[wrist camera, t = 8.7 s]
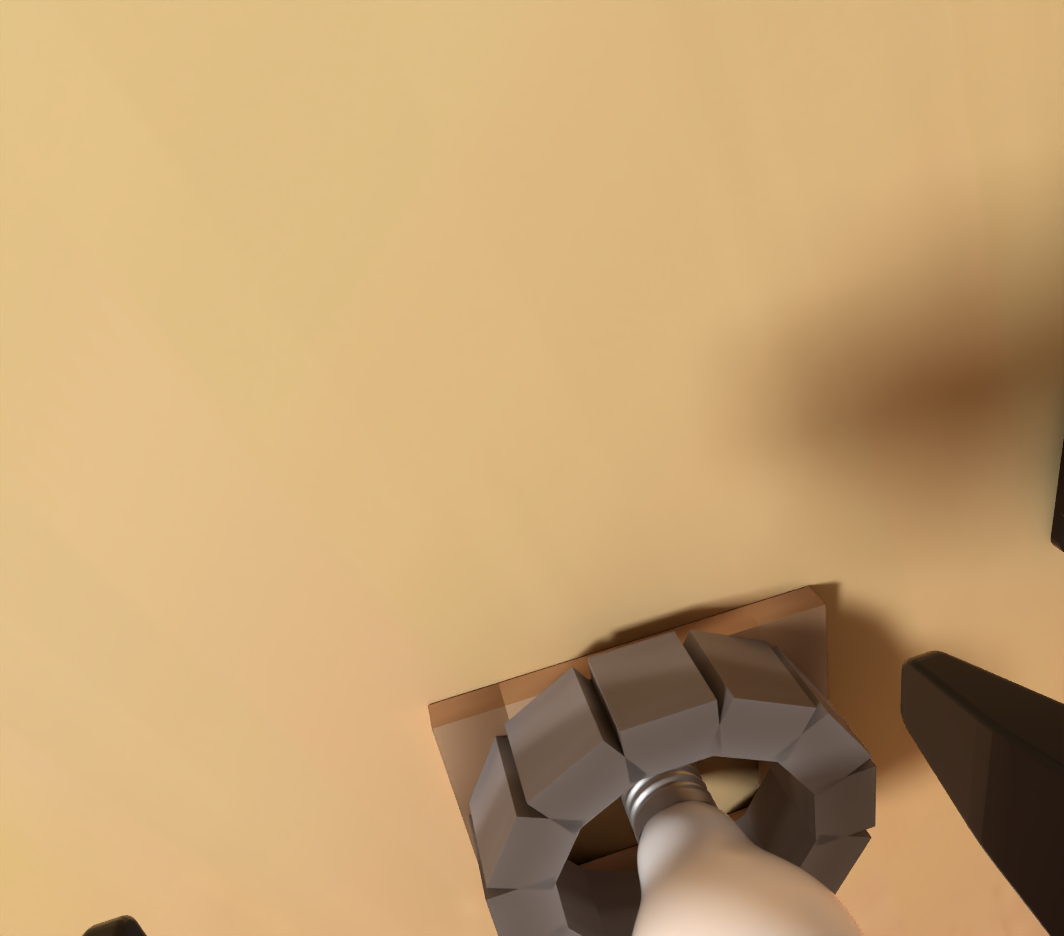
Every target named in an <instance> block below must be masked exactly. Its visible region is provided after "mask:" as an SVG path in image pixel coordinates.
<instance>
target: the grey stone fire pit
mask: <svg viewBox="0 0 1064 936" xmlns="http://www.w3.org/2000/svg"><path fill="white" fill-rule="evenodd" d="M428 709H429V714H430V720H431V726H432V730H433V733H434V736H435V739H436V742H437V745H438V748H439V751H440V754H441V756H442V759H443V762H444V765H445V768H446V771H447V774H448V777H449V780H450V783H451V786H452V788H453V791H454V794H455V797H456V800H457V803H458V806H459V809H460V812H461V815H462V818H463V821H464V823H465V826H466V829H467V832H468V835H469V838H470V841H471V844H472V847H473V850H474V853H475V856H476V858H477V861H478V864H479V869H480V874H481V879H482V884H483V889H484V893H485V898H486V902H487V905H488V908H489V911H490V913H491V916H492V919H493V922H494V925H495V928H496V931H497V934H498V936H632V931H633V928H634V924H635V920H636V917H637V913H638V910H639V906H640V901H641V886H640V880H639V874H638V867H637V851H638V845H637V846H634V847H631V848H628V849H625V850H622V851H619V852H616V853H613V854H610V855H607V856H604V857H602V858H599V859H596V860H593V861H590V862H587V863H584V864H581V865H576V864H574V863H573V862H571V861H570V860H568V859H567V857H568V855H569V853H570V851H571V849H572V847H573V845H574V842H575V840H576V838H577V836H578V834H579V832H580V829H581V828H582V827H583V826H584V825H586V824H587V823H588V822H589V821H590V820H592V819H593V818H594V817H595V816H597V815H598V814H599V813H600V812H602V811H603V810H604V809H605V808H606V807H608V806H609V805H610V804H611V803H613V802H614V801H615V800H616V799H618V798H619V797H620V796H621V795H622V794H624V793H625V792H626V791H627V790H629V789H630V788H631V787H632V786H634V785H635V784H636V783H637V782H638V781H640V780H643V779H646V778H649V777H652V776H655V775H658V774H661V773H664V772H667V771H670V770H673V769H676V768H679V767H682V766H685V765H688V764H691V763H694V762H697V761H700V760H703V759H706V758H709V757H712V756H719V757H730V758H741V759H752V760H758V772H759V784H760V787H759V789H758V790H757V792H756V794H755V796H754V798H753V800H752V801H751V803H750V805H749V807H748V808H745V809H742V810H739V811H736V812H733V813H730V814H727V815H728V816H730V817H731V818H732V819H733V820H734V821H735V822H736V823H737V825H738V826H739V827H740V828H741V829H742V831H743V832H744V833H745V834H746V836H747V837H748V838H749V839H750V840H751V841H752V842H753V843H754V844H756V845H757V846H759V847H760V848H762V849H764V850H766V851H768V852H771V853H773V854H775V855H777V856H779V857H781V858H783V859H785V860H787V861H789V862H791V863H793V864H795V865H796V866H798V867H800V868H802V869H803V870H805V871H806V872H808V873H809V874H811V875H812V876H814V877H815V878H816V879H818V880H819V881H820V882H821V883H823V884H824V885H825V886H826V887H827V888H828V889H829V890H830V891H831V892H832V893H833V894H836V892H837V891H838V889H839V888H840V886H841V884H842V883H843V881H844V880H845V878H846V877H847V875H848V873H849V872H850V870H851V869H852V867H853V866H854V864H855V863H856V861H857V859H858V858H859V856H860V855H861V853H862V852H863V850H864V848H865V847H866V845H867V844H868V842H869V841H870V839H871V836H870V835H869V833H868V832H867V831H866V829H869V828H872V827H874V826H875V808H876V766H875V765H874V763H873V762H872V761H871V759H870V758H871V757H872V756H871V754H870V753H869V752H868V751H867V749H866V748H865V747H864V746H863V744H862V743H861V742H860V740H859V739H858V738H857V737H856V735H855V734H854V733H853V732H852V730H851V729H850V728H849V727H848V725H847V724H846V723H845V721H844V720H843V719H842V718H841V716H840V715H839V714H838V713H837V711H836V710H835V709H834V707H833V706H832V705H831V704H830V702H829V701H828V669H827V631H826V604H825V603H824V602H823V601H822V600H821V599H820V598H819V596H818V595H817V594H816V593H815V592H814V591H813V590H812V589H811V588H810V587H809V586H808V587H805V588H801V589H798V590H795V591H792V592H789V593H785V594H782V595H779V596H776V597H773V598H769V599H766V600H763V601H760V602H757V603H754V604H750V605H747V606H744V607H741V608H738V609H734V610H731V611H728V612H725V613H722V614H718V615H715V616H712V617H709V618H706V619H702V620H699V621H696V622H693V623H690V624H686V625H683V626H680V627H677V628H674V629H670V630H667V631H664V632H661V633H658V634H654V635H651V636H648V637H645V638H642V639H638V640H635V641H632V642H629V643H626V644H622V645H619V646H616V647H613V648H610V649H606V650H603V651H600V652H597V653H594V654H591V655H587V656H584V657H581V658H578V659H575V660H571V661H568V662H565V663H562V664H559V665H555V666H552V667H549V668H546V669H543V670H539V671H536V672H533V673H530V674H527V675H523V676H520V677H517V678H514V679H511V680H507V681H504V682H501V683H498V684H495V685H491V686H488V687H485V688H482V689H479V690H475V691H472V692H469V693H466V694H463V695H459V696H456V697H453V698H450V699H447V700H443V701H440V702H437V703H434V704H431V705H428Z"/></svg>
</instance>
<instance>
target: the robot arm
mask: <svg viewBox="0 0 1064 936" xmlns="http://www.w3.org/2000/svg"><path fill="white" fill-rule="evenodd" d="M1051 543H1052V544H1053V545H1054V546H1055V547H1057V548H1058V549H1060V550H1061V551H1063V552H1064V441H1063V448H1062V456H1061V464H1060V471H1059V479H1058V486H1057V494H1056V502H1055V509H1054V517H1053V525H1052V532H1051ZM901 714H902V718H903V721H904V724H905V726H906V728H907V730H908V731H909V733H910V735H911V736H912V738H913V739H914V741H915V743H916V744H917V746H918V747H919V749H920V751H921V752H922V754H923V755H924V757H925V759H926V760H927V762H928V763H929V765H930V767H931V768H932V770H933V771H934V773H935V775H936V776H937V778H938V779H939V781H940V782H941V784H942V786H943V787H944V789H945V790H946V792H947V794H948V795H949V797H950V798H951V800H952V802H953V803H954V805H955V806H956V808H957V810H958V811H959V813H960V814H961V816H962V818H963V819H964V821H965V822H966V824H967V826H968V827H969V829H970V830H971V832H972V833H973V835H974V836H975V838H976V839H977V841H978V842H979V844H980V845H981V846H982V848H983V849H984V851H985V852H986V853H987V855H988V856H989V857H990V859H991V860H992V861H993V863H994V864H995V865H996V867H997V868H998V869H999V871H1000V872H1001V873H1002V874H1003V876H1004V877H1005V878H1006V880H1007V881H1008V882H1009V883H1010V885H1011V886H1012V887H1013V889H1014V890H1015V891H1016V892H1017V894H1018V895H1019V896H1020V898H1021V899H1022V900H1023V902H1024V903H1025V904H1026V905H1027V907H1028V908H1029V909H1030V911H1031V912H1032V913H1033V914H1034V916H1035V917H1036V918H1037V920H1038V921H1039V922H1040V923H1041V925H1042V926H1043V927H1044V929H1045V930H1046V931H1047V932H1048V934H1049V935H1050V936H1064V704H1063V703H1060V702H1058V701H1056V700H1053V699H1051V698H1049V697H1046V696H1044V695H1042V694H1039V693H1037V692H1035V691H1032V690H1030V689H1028V688H1025V687H1023V686H1021V685H1018V684H1016V683H1014V682H1012V681H1009V680H1007V679H1005V678H1002V677H1000V676H998V675H995V674H993V673H991V672H988V671H986V670H984V669H981V668H979V667H977V666H974V665H972V664H970V663H967V662H965V661H963V660H960V659H958V658H956V657H954V656H951V655H949V654H947V653H944V652H940V651H930V652H927V653H924V654H921V655H918V656H915V657H911V658H909V659H907V660H905V662H904V664H903V665H902V677H901ZM82 936H147V935H146V934H145V933H144V931H143V930H142V928H141V927H140V925H139V924H138V922H137V921H136V920H135V919H134V918H133V917H131V916H128V915H125V916H120V917H117V918H114V919H111V920H108V921H105V922H102V923H99V924H96V925H94V926H92V927H90V928H89V929H88V930H87V931H86V932H85V933H84V934H83V935H82Z"/></svg>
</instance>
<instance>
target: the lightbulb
mask: <svg viewBox="0 0 1064 936" xmlns="http://www.w3.org/2000/svg"><path fill="white" fill-rule="evenodd" d="M620 798H621V800H622V804H623V806H624V808H625V810H626V814H627V816H628V818H629V819H630V824H631V827H632V828H633V830H634V834H635V837H636V840H637V842H638V851H637V867H638V874H639V880H640V886H641V901H640V906H639V910H638V913H637V917H636V920H635V924H634V928H633V931H632V936H864V934H863V932H862V930H861V929H860V927H859V925H858V924H857V922H856V921H855V919H854V918H853V916H852V915H851V913H850V912H849V911H848V909H847V908H846V907H845V906H844V904H843V903H842V902H841V901H840V900H839V899H838V898H837V897H836V896H835V894H833V893H832V892H831V891H830V890H829V889H828V888H827V887H826V886H825V885H824V884H823V883H821V882H820V881H819V880H818V879H816V878H815V877H814V876H812V875H811V874H809V873H808V872H806V871H805V870H803V869H802V868H800V867H798V866H796V865H795V864H793V863H791V862H789V861H787V860H785V859H783V858H781V857H779V856H777V855H775V854H773V853H771V852H768V851H766V850H764V849H762V848H760V847H759V846H757V845H756V844H754V843H753V842H752V841H751V840H750V839H749V838H748V837H747V836H746V834H745V833H744V832H743V831H742V829H741V828H740V827H739V826H738V825H737V823H736V822H735V821H734V820H733V819H732V818H731V817H730V816H728V815H727V814H726V813H725V812H723V811H722V810H720V809H718V807H717V805H716V804H715V802H714V800H713V799H712V796H711V794H710V793H709V791H707V787H706V784H705V783H704V782H703V780H702V777H701V775H700V773H699V772H698V770H697V768H696V765H695V763H691V764H688V765H685V766H682V767H679V768H676V769H673V770H670V771H667V772H664V773H661V774H658V775H655V776H652V777H649V778H646V779H643V780H640V781H638V782H637V783H636V784H635V785H634V786H632V787H631V788H630V789H629V790H627V791H626V792H625V793H624V794H622V795H621V796H620Z"/></svg>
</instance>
